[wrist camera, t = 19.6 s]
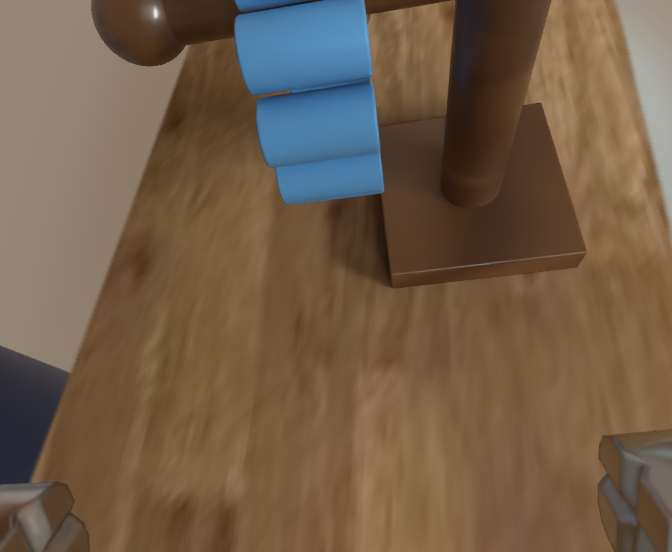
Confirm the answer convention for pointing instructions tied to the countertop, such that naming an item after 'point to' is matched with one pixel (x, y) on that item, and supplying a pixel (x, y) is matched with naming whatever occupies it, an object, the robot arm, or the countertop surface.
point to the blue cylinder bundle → (312, 96)
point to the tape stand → (429, 140)
